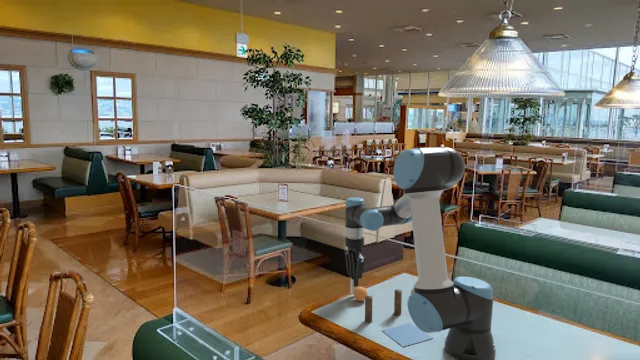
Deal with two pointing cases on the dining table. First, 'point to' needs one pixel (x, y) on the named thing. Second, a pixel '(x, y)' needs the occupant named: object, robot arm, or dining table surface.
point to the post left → (368, 309)
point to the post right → (397, 302)
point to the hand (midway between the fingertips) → (354, 293)
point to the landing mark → (407, 334)
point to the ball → (360, 293)
